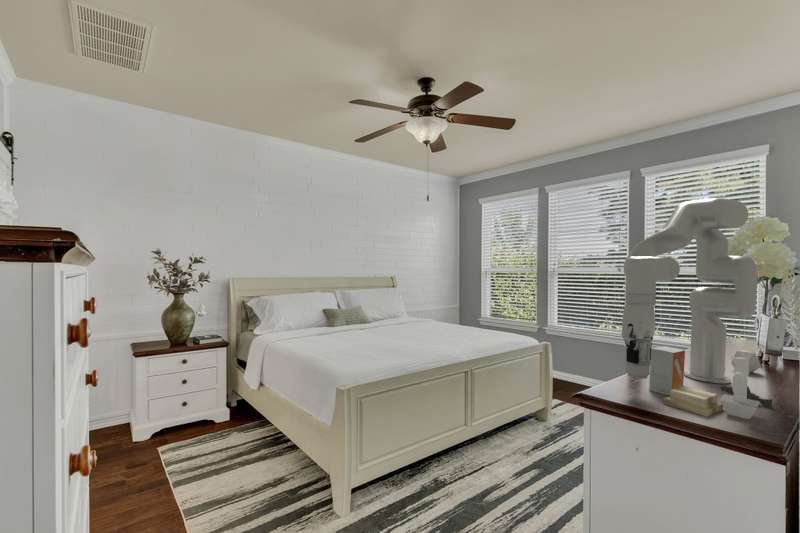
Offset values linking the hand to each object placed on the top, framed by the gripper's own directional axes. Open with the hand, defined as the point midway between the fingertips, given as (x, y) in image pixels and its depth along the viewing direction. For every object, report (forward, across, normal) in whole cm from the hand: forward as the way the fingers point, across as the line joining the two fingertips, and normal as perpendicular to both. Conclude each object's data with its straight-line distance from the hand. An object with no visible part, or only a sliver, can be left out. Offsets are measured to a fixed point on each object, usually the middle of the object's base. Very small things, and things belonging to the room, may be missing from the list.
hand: (638, 360), depth 113 cm
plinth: (+11, -5, +12) cm, 17 cm away
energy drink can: (+5, 0, 0) cm, 5 cm away
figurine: (+11, -10, +20) cm, 25 cm away
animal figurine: (+12, -24, +17) cm, 32 cm away
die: (+13, -67, +5) cm, 68 cm away
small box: (+11, -13, +2) cm, 17 cm away
